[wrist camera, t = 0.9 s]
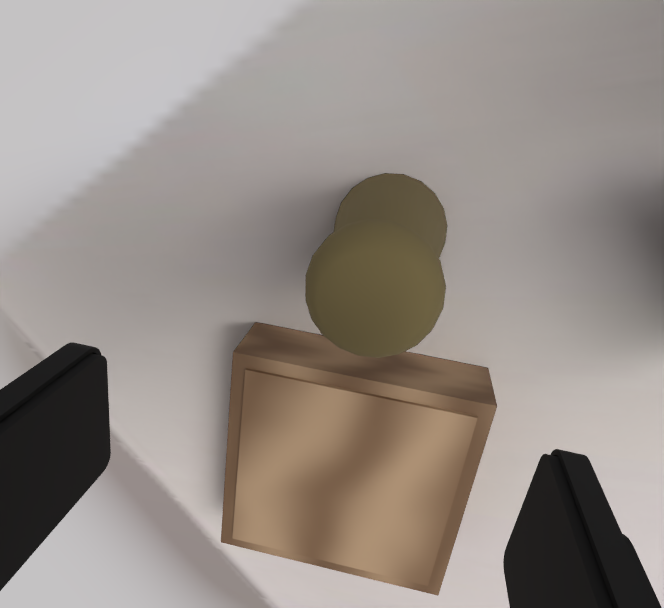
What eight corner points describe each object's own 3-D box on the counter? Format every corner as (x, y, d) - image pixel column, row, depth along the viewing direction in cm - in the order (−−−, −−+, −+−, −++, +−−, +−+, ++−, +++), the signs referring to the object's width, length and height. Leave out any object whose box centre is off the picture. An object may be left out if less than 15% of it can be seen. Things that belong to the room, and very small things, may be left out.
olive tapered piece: (328, 179, 27) (270, 227, 17) (444, 166, 26) (457, 211, 16) (341, 286, 29) (297, 385, 19) (449, 279, 28) (463, 381, 18)
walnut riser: (488, 368, 30) (497, 408, 26) (436, 543, 35) (438, 598, 31) (255, 322, 31) (231, 353, 27) (241, 497, 36) (219, 544, 33)
